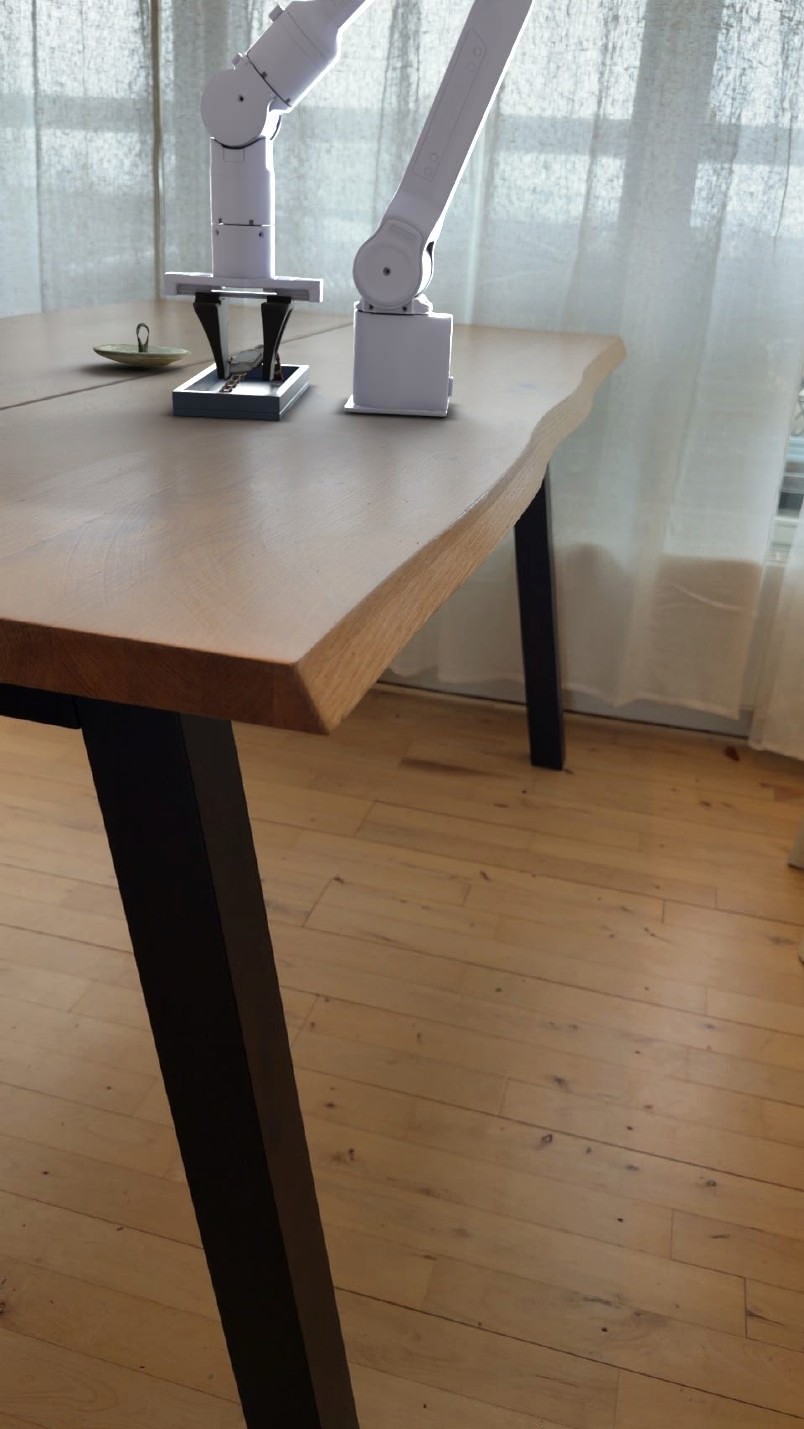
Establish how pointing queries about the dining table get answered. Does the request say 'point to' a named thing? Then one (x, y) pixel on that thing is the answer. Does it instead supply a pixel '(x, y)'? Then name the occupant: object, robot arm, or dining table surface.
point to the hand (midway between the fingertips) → (245, 378)
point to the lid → (141, 352)
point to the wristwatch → (248, 367)
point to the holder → (241, 394)
